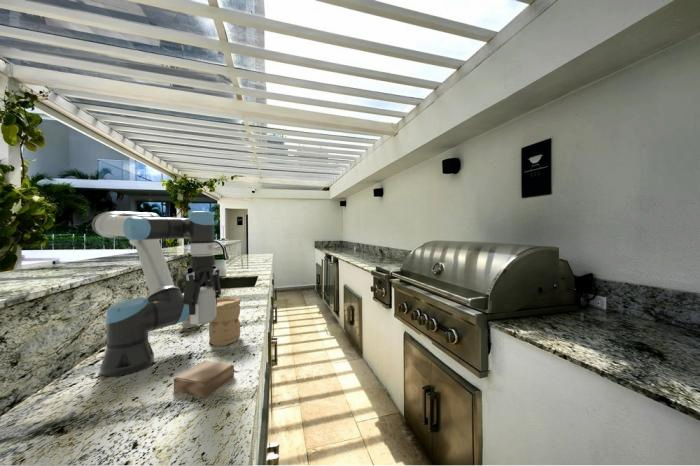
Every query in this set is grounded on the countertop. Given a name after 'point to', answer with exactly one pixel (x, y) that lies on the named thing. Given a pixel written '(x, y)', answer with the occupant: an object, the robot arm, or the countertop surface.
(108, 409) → the countertop surface
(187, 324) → the coffee cup
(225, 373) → the tan cardboard box
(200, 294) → the can
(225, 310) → the container
